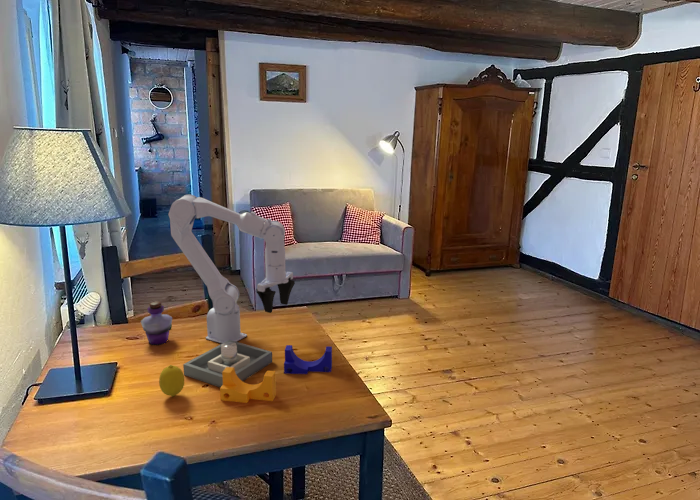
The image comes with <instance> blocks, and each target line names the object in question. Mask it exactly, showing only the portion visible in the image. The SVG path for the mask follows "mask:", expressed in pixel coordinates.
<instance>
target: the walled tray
mask: <svg viewBox="0 0 700 500" xmlns="http://www.w3.org/2000/svg"><path fill="white" fill-rule="evenodd" d="M226 342H234V343H236V344H237V360H238V362H237V363H235V364H234V365H232V366H230V367H234V369H235V373H236V375H237V376H238V378H239V379H240V380H241V381H243V382H245V381H246V380H248V379H249V378H250V377H252V376H253V375H255V374H256V373H258V372H260V371H261V370H262V369H264V368H265V367H267V366H268V365H270V364H271V363H273V352H272V351H271V350H268V349H267V350H266V349H263V348H259V347H256V346H253V345H249V344H245V343H242V342H239V341H237V342H236V341H232V340H228V341H226ZM226 342H224V343H226ZM222 344H223V343H220V344H219V345H217V346H215V347H213V348H211V349H209V350H207V351H205V352H204V353H202V354H200V355H198V356H196V357H194V358H192V359H190V360H189V361H187V362H184V363H183V364H182V366H183V368H182V369H183V375H184V377H185V376H186V377H189V378H192V379H194V380H197V381H201V382H202V383H205V384H209V385H212V386H214V387H217V388H219V389H220V388H221V386H222V385H223V377H222V372H223V371H224V369H225V368H226V367H229V366H226V365H222V357H221V345H222Z"/></svg>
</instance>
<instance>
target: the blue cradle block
mask: <svg viewBox="0 0 700 500" xmlns="http://www.w3.org/2000/svg"><path fill="white" fill-rule="evenodd" d="M324 351H325V352H324V354H322V356H321V357H320V358H317V359H315V360H313V361H311V360H304V359H302V358H300V357H298V356H297V354H296V353H295V352H294V349H293V345H291V344H290V345H288V344H286V346H285V348H284V362H283V374H285V375H286V374H288V375H289V374H292V375H295V374H296V375H308V373H309V372H313V373H315V372H320V373H331V372H332V368H333V346H327V345H326V346H325V349H324Z"/></svg>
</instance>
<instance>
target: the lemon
mask: <svg viewBox="0 0 700 500" xmlns="http://www.w3.org/2000/svg"><path fill="white" fill-rule="evenodd" d="M158 382H159V388H160V390H161V392H162V393H163V394H164V395H165V396H168V397H169V396H171V397H172V398H173V397H175V396H176V395H178V394H180V392H182V390H183V389H184V386H185V375H184V371H183V370H182V369H181V368H180V367H179V366H176V365H173V364H169V365H168V366H166V367H164V368H163V369H162V371H160V374H159V381H158Z"/></svg>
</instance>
